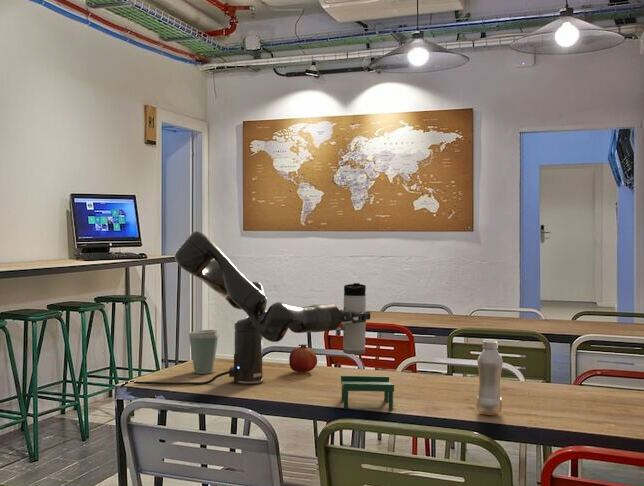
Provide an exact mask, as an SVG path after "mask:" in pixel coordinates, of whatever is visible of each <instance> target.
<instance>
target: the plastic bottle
mask: <svg viewBox="0 0 644 486" xmlns="http://www.w3.org/2000/svg"><path fill="white" fill-rule="evenodd" d="M482 348H483V350H482V351H481V353H480V354H479V355H478V357H477V371H478V390H477V391H478V393H477V397H476V403H475V407H476V411H477V412H478V413H479V414H482V415H486V416H496V415H500V413H501V412H502V409H503V401H502V394H501V375H502V370H503V365H504V361H503V357H502V355H501V354H500V353H499V351H498V349H499V347H498V341H497V340H491V339H490V340H487V339H486V340H483V341H482Z"/></svg>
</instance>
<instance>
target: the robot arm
mask: <svg viewBox="0 0 644 486" xmlns="http://www.w3.org/2000/svg"><path fill="white" fill-rule="evenodd" d="M174 259H175V260H174V261H175V262H176V264H177V265H178V266H179V267H180V268H181V269H183V270H184V271H186V272H187V273H188V274H190V275H192V276H193V277H195V278H198V279H199V280H201V281H202V282H203V283H205V284H206V285H207V286H209V288H210V289H212V290H213V291H214V292H216V293H217V294H219V295H220V296H222V297H223V298H224V299H225V300H226V302H228V304H229V305H230V306H231V307H232V308H234V309H235V310H236V309H237V310H241V311H244V313H246V315H247V317H246V316H245V318H241V319H239V320H237V321H235V322H234V354H233V366H230V367H229V368H228V369H229V370H227V371H225V372H221V373H219V374H218V373H217V374H216V375H214V376H213V377H212V378H211V379H209V380H206V381H186V382H185V381H182V382H181V381H180V382H178V381H177V382H172V381H171V382H170V381H167V382H166V381H139V382H138V381H137V380H127V381H124V382H125V384H123V383H121V385H120V386H119V387H120V388H123V387H125V386H126V385H129V384H130V383H128V381H130V382H134V381H136V382H134V383H133V384H135V385H157V386H159V385H160V386H164V385H165V386H190V385H191V386H195V385H196V386H202V385H207V384H211V383H213V382H214V381H215V380H216V379H218V378H220V377H222V376H226V375H228V377H229V378H233V384H239V385H257V384H262V383H263V381H264V380H263V339H265V340H267V341H269V342H271V343H279V342H280V341H282V340H283V339H284V337H285V335H286V334H287V332H288V330H290V331H291V332H293V333H295V334H304V333H323V332H331V331H335V330H337V329H338V328H339V327H340V325H343V324H346V323H360V322H365V323H366V322H367V320H371V312H370V311H366V312H355V311H353V310H349V311H346V310H344V309H341V308H339V307H338V306H337V305H335V304H333V303H321V304H312V305H308V306H306V305H305V306H296V305H291V304H288V303H285V302H282V301H279V302H274V303H272V304H271V305H270V306H269V307H268V309H267V303H268V297H267V295H266V294H265V289H264V285H263V284H262V283H261V282H259V281H250V280H249V279H248V278H247V277H246V276H245V275H244V274H243V273H242V271H240V270H239V268H238V267H237V266H236V265H235V263H234V262H232V260H231V259H230V258H229V257H228V256H227V255H226V254H225V253H224V252H223V251H222V250H221V249H220V247H219V246H217V244H215V242H213V240H211V239H210V238H209V237H208V236H206V235H205V234H204V233H202V232H201V231H197V230H195V231H193V232H192V233H191V234H190V235H189V236H188V237H187V238H186V239H185V240H184V242H183V243H182V244H181V245H180V246H179V247H178V248H177V250H176V252H175V253H174ZM350 313H351V316H350ZM349 320H350V321H349Z"/></svg>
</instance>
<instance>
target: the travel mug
mask: <svg viewBox="0 0 644 486" xmlns="http://www.w3.org/2000/svg"><path fill="white" fill-rule="evenodd" d="M366 286H367V285H365V284H361V283H360V282H353V283H349V284H348V283H347V284H345V285H344V286H343V310H346V311H349V310H353V311H355V312H367V311H366V310H367V307H366V303H367V296H366V295H367V293H366V291H367V287H366ZM350 316H351V313H350ZM349 321H350V320H349ZM342 325H343V326H342V330H343V331H342V336H343V338H342V352H343V354H346V355H364V354H366V322H360V323H346V324H342Z"/></svg>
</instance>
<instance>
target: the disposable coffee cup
mask: <svg viewBox="0 0 644 486" xmlns="http://www.w3.org/2000/svg"><path fill="white" fill-rule="evenodd" d="M188 338H189V346H190V352H191V358H192V359H191V360H192V365H193V371H194V373H195V374H199V375H200V374H205V375H206V374H212V373H213V371H214V369H215V368H214V367H215V361H216V355H217V348H218V347H217V346H218V339H219V333H218V330H217V329H203V330H195V331H191V332H189V334H188Z"/></svg>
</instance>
